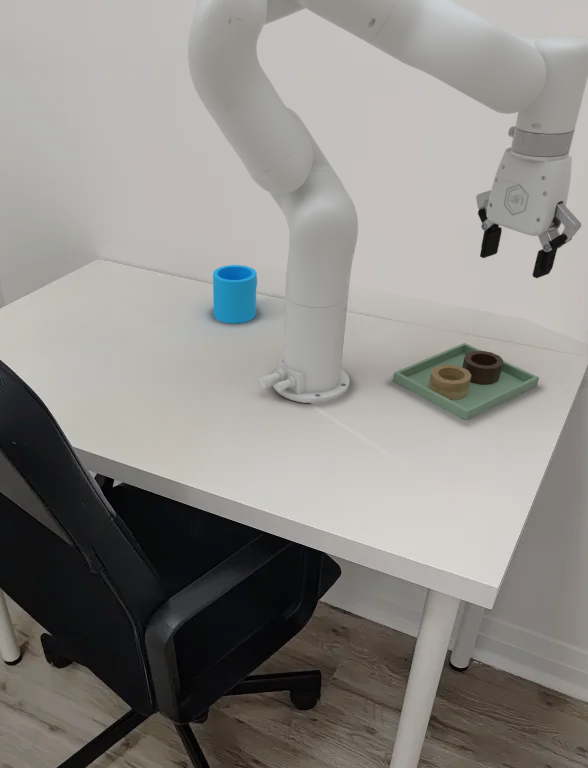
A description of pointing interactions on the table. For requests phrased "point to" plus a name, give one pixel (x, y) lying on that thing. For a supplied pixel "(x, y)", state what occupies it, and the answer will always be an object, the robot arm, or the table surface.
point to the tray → (478, 395)
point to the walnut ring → (483, 367)
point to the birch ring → (450, 381)
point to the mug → (234, 293)
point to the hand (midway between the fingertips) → (513, 265)
